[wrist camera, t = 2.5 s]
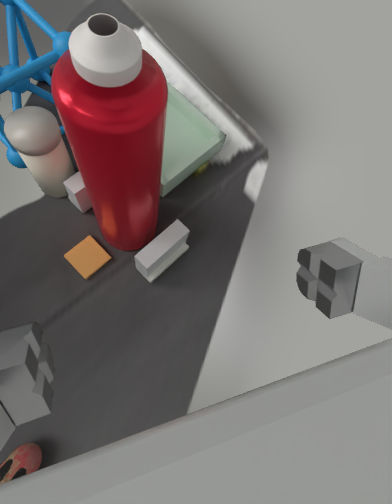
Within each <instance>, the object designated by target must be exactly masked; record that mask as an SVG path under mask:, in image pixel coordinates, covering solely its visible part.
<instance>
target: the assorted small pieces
mask: <svg viewBox="0 0 392 504" xmlns="http://www.w3.org/2000/svg"><path fill="white" fill-rule="evenodd" d="M166 82H167V81H166ZM167 86H168V103H167V114H166V126H165V138H164V149H163V161H162V173H161V185H160V196H161V197H162V198H163V197H164V196H165V195H166V194H167V193H169V192H170V191H171V190H172V189H174V188H175V187H176V186H177V185H179V184H180V183H181V182H182V181H183V180H185V179H186V178H187V177H188V176H190V175H191V174H192V173H193V172H195V171H196V170H197V169H198V168H200V167H201V166H202V165H203V164H204V163H206V162H207V161H208V160H209V159H211V158H212V157H213V156H214V155H216V154H217V153H218V152H219V151H220V150H221V149H222V146H223V143H224V140H225V138H226V135H225V134H224V133H223V132H222V131H221V130H220V129H219V128H217V127H216V126H215V125H214V124H213V123H212V122H211V121H210V120H209V119H208V118H207V117H205V116H204V115H203V114H202V113H201V112H200V111H199V110H198V109H197V108H196V107H195V106H193V105H192V104H191V103H190V102H189V101H188V100H187V99H186V98H185V97H184V96H183V95H182V94H180V93H179V92H178V91H177V90H176V89H175V88H174V87H173V86H172V85H171V84H170V83H168V82H167ZM4 132H5V135H6V137H7V138H8V140H9V141H10V143H11V145H12V146H13V147H14V148H15V149H16V150H17V151H18V153H19V155H20V156H21V158H22V159H23V161H24V163H25V164H26V166H27V167H28V169H29V170H30V172H31V174H32V175H33V177H34V178H35V180H36V181H37V183H38V185H39V186H40V188H41V189H42V191H43V192H44V193H45V194H46V195H48V196H51V197H54V198H61V197H65V196H68V198H69V200H70V201H71V202H72V203H73V204H74V205H75V206H76V207H77V208H78V209H79V210H80V211H81V212H82V213H83V214H84V213H85V212H86V211H88V210H89V209H90V208H92V205H91V202H90V199H89V196H88V194H87V191H86V188H85V185H84V183H83V180H82V177H81V174H80V172H77V173H76V172H75V170H74V167H73V165H72V162H71V159H70V157H69V154H68V152H67V149H66V146H65V144H64V141H63V139H62V136H61V130H60V127H59V125H58V122H57V120H56V118H55V116H54V115H53V114H52V113H51V112H50V111H48V110H46V109H44V108H41V107H37V106H27V107H22V108H19V109H17V110H15V111H14V112H12V113H11V114H10V115H9V116H8V117H7V119H6V121H5V123H4ZM189 231H190V230H189V229H188V228H186V227H185V226H184V225H183V224H182V223H181V222H180V221H179V220H178V219H177V220H176V221H175V222H173V223H172V224H171V225H170V226H169V227H168V228H166V229H165V230H164V231H163V232H162V233H161V234H159V235H158V236H157V237H156V238H155V239H154V240H152V241H151V242H150V243H149V244H148V245H147V246H145V247H144V248H143V249H142V250H141V251H140V252H139V253H137V254H136V255H135V265H136V269H137V270H138V271H139V272H140V273H141V274H142V275H143V276H144V277H145V278H146V279H147V280H148V281H149V282H150V283H152V282H153V281H154V280H155V279H156V278H157V277H158V276H159V275H160V274H161V273H163V272H164V271H165V270H166V269H167V268H168V267H169V266H170V265H171V264H172V263H173V262H175V261H176V260H177V259H178V258H179V257H180V256H181V255H182V254H183V253H184V252H185V251H187V250H188V248H189V246H188V245H187V244H186V240H187V237H188V234H189ZM63 256H64V257H65V258H66V259H67V260H68V261H69V262H70V263H71V265H72V266H73V267H74V268H75V269H76V270H77V271H78V272H79V273H80V274H81V275H82V276H83V277H84V278H85V280H87V279H88V278H89V277H90V276H91V275H93V274H94V273H95V272H96V271H97V270H99V269H100V268H101V267H102V266H103V265H105V264H106V263H107V262H108V261H109V260H111V259H112V258H111V257H110V256H109V255H108V254H107V252H106V251H105V250H104V249H103V248H102V247H101V246H100V245H99V244H98V243H97V242H96V241H95V240H94V239H93V238H92V237H91V236H90V235H89V236H88V237H86V238H85V239H84V240H83V241H81V242H80V243H79V244H78V245H76V246H75V247H74V248H72V249H71V250H70V251H69V252H67V253H66V254H65V255H63Z"/></svg>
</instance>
